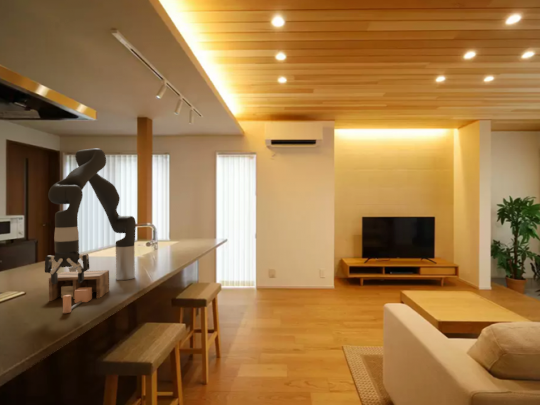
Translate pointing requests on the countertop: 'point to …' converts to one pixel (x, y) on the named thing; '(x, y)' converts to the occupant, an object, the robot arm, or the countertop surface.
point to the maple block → (67, 290)
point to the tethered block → (77, 298)
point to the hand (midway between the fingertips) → (67, 283)
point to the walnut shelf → (91, 279)
